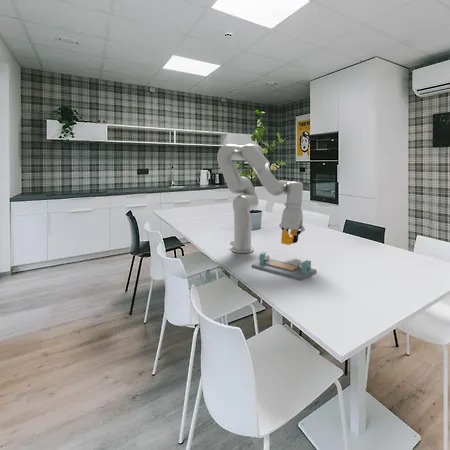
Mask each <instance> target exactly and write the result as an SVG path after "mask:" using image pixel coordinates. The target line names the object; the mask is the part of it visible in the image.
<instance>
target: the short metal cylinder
mask: <svg viewBox="0 0 450 450" xmlns="http://www.w3.org/2000/svg"><path fill="white" fill-rule="evenodd" d="M269 259H271V258H270V255H267V254H266V255H265V257H264V262H269ZM258 262H260V255H259V256H258Z"/></svg>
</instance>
